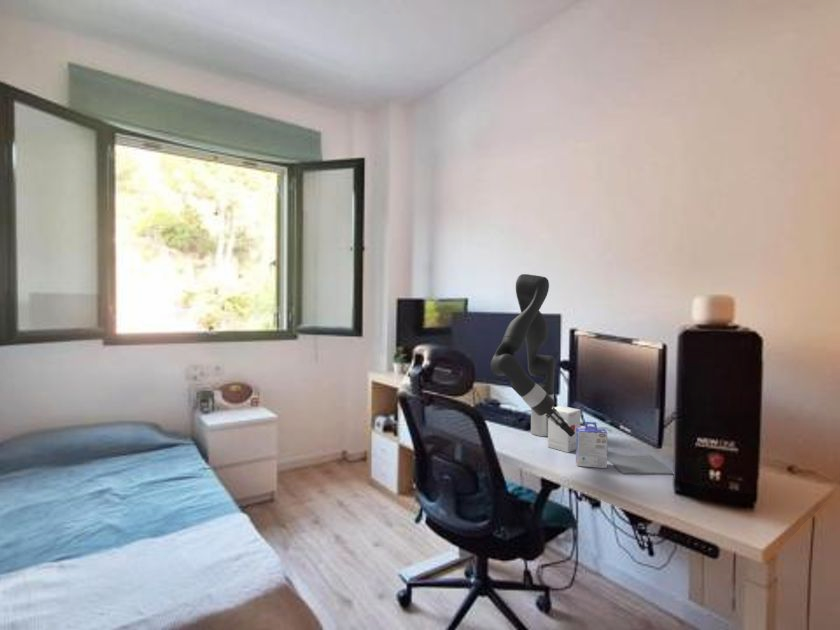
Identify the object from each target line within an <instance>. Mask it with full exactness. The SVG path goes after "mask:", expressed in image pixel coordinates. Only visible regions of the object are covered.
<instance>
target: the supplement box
mask: <svg viewBox="0 0 840 630" xmlns="http://www.w3.org/2000/svg"><path fill="white" fill-rule="evenodd" d="M554 408H555V409H556V410H557V411H558V412H559V414H560V415H561V416H562V417H563V418H564V421H565V422H566V423H567V424H568V426H569V427H570V428H571V429H572V430H573V431H574V432H575V434H574V435H573V436H572V437H570V436H569V435H568V434H567V433H566V432H565V431H564V430H563V429H561V428H560V426H557V425H556V424H555V423H554V422H553V421H551V420H550V419H549V418H548V436H547V447H548V448H550V449H555V450H559V451H562V452H564V453H570V452H572V451H576V428H581V411H582V410H581V409H579V408H576V407H575V408H574V407H569V406H565V405H559V406H558V405H557V406H554ZM552 409H553V408H552ZM557 415H558V414H557ZM558 416H559V415H558Z"/></svg>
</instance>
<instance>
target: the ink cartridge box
mask: <svg viewBox="0 0 840 630" xmlns="http://www.w3.org/2000/svg"><path fill="white" fill-rule="evenodd" d="M592 425H593V426H592ZM607 455H608V432H607V430H606V429H605V428H598V425H597V422H594V421H585V427H580V428H576V449H575V464H576V466H577V467H587V468H600V469H601V468H602V469H607V468H608V467H607V466H608V460H607Z"/></svg>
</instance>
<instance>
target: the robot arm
mask: <svg viewBox="0 0 840 630" xmlns="http://www.w3.org/2000/svg"><path fill="white" fill-rule="evenodd" d="M515 281H516V282H515V294H516V297H517V299H516V300H517V303H518V306H519V309H520V314H518V315H517V316H516V317H514V319H512V320H511V321H510V323H509V324H508V326H507V327H506V330H505V333H504V335H503V337H502V340H501V343H500V344H499V346H498V347H497V349H496V351H495V353H494V354H493V356H492V358H491V361H490V370H491V372H492V373H493V374H494V375H496V376H499V377H503V376H506V377H507V378H508V380H509V381H510V386H511V388H512V389H513V391H515V392H516V393H517V394H518V396H519V397H521V399H522V400H523V401H524V403H525V404H526V405H527V406H528V407H530V434H532V435H534V436H538V437H548V418H549V419H550V420H551V421H553V422H554V423H555V424H556V425H557V426H560V428H561V429H563V430H564V431H565V432H566V433H567V434H568V435H569V436H570V437H572V436H573V435H574V434H575V432H574V431H573V430H572V429H571V428H570V427H569V426H568V424H567V423H566V422H565V421H564V418H563V417H562V416H561V415H560V414H559V412H558V411H557V410H556V409H555V408H554V407H555V406H554V405H555V397H554V396H555V390H554V389H555V373H556V359H555V357H554V356H552V355H547V354H546V355H543V354H537V353H538V351H539V350H540V348H541V347H542V346H544V344H545V343H546V341H547V339H548V336H549V331H548V330H549V329H548V323H547V320H546V319H547V318H545V316H544V314H543V313H542V312H541V311H540V309H542V308H541V307H542V305H543V304H544V302H545V300H546V298H547V295H548V294H549V288H550V283H549V282H550V281H549V279H548V278H547V277H546V276H543V275H541V276H540V275H536V274H527V273H523V274H520V275H518V277H517V278H516V280H515ZM524 342H525V345H526V354H527V355H526V356H527V358H526V359H527V370H528V374H529V375H528V374H527V372H526V370H525V369H524V367H523V366H522V364H521V363H520V362H519V360H518V358H516V357H515V356H516V354H517V353H519V352H521V349H522V346H523V344H524ZM531 376H532V377H535V378H545V380H544V381H542V382H540V383H537V382H536V381H535V380H534V379H532V378H531ZM552 408H553V409H552ZM557 414H558V415H559V416H558V415H557Z"/></svg>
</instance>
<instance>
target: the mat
mask: <svg viewBox="0 0 840 630" xmlns="http://www.w3.org/2000/svg"><path fill="white" fill-rule="evenodd" d="M607 462H609V463H610V464H611V465H612V464H613V465H614V468H616V469H617V470H618V472H620V474H622V475H662V474H673V472H674V470H672V469H671V468H670V467H668V466H666V465H665V464H664V463H662V462H661V461H659V460H658V459H656V458H655V457H654V456H652V455H617V454H616V455H615V454H613V455H611V454H610V455H608V454H607ZM613 465H612V466H613Z"/></svg>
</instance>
